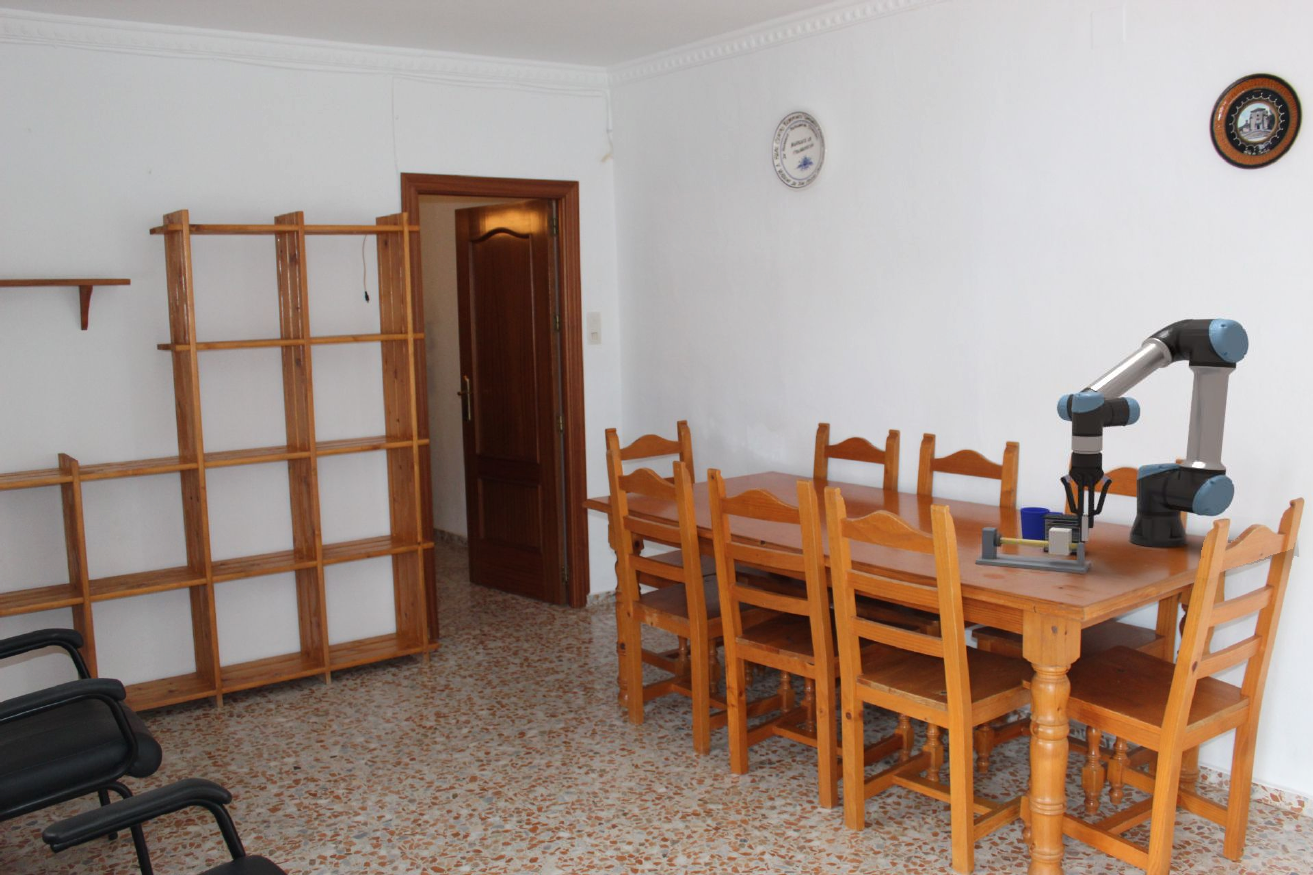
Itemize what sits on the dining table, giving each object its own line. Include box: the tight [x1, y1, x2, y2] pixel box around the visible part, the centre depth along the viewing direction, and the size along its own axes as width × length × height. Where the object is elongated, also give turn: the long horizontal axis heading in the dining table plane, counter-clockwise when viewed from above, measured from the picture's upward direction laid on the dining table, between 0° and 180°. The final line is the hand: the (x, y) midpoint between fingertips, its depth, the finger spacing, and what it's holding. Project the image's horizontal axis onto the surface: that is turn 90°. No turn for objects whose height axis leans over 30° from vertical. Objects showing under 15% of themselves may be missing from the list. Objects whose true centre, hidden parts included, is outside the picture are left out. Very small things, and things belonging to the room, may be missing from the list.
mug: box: [1019, 506, 1064, 541], centre depth 311 cm, size 8×12×10 cm
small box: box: [1043, 513, 1086, 556], centre depth 299 cm, size 11×6×10 cm, turn 59°
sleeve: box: [1048, 527, 1072, 557], centre depth 281 cm, size 5×4×6 cm
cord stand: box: [975, 526, 1092, 575], centre depth 285 cm, size 28×10×9 cm, turn 59°
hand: (1085, 539), depth 278 cm, fingers closed
